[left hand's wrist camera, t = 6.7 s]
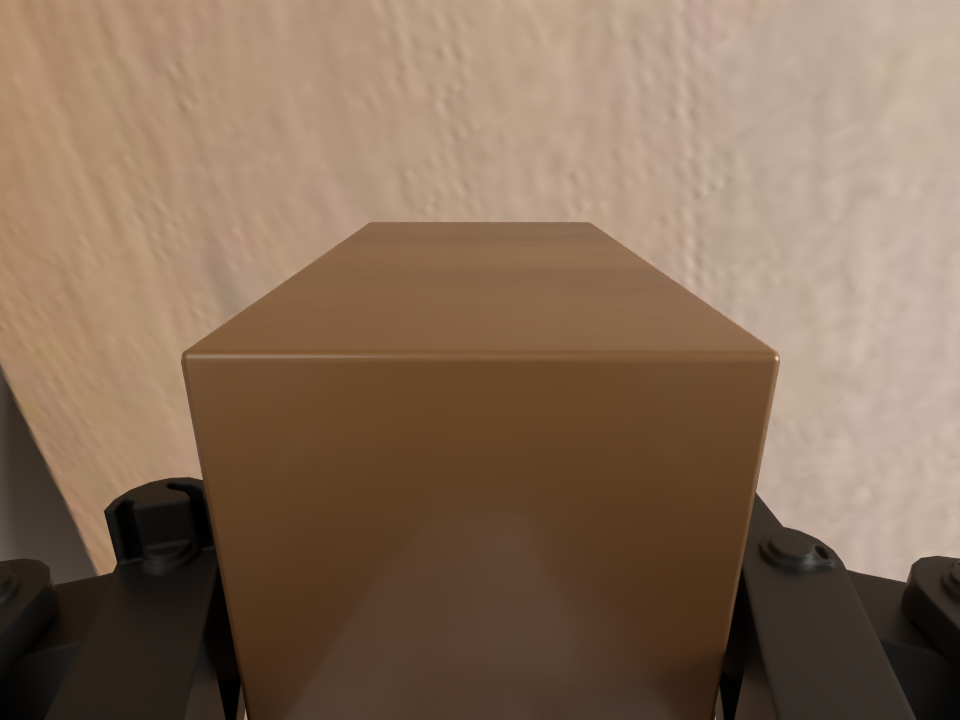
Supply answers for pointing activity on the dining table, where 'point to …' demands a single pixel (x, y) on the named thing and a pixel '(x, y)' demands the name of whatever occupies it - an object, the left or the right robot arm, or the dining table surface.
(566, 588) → the bar
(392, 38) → the dining table surface
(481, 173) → the dining table surface
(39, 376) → the dining table surface
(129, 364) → the dining table surface
